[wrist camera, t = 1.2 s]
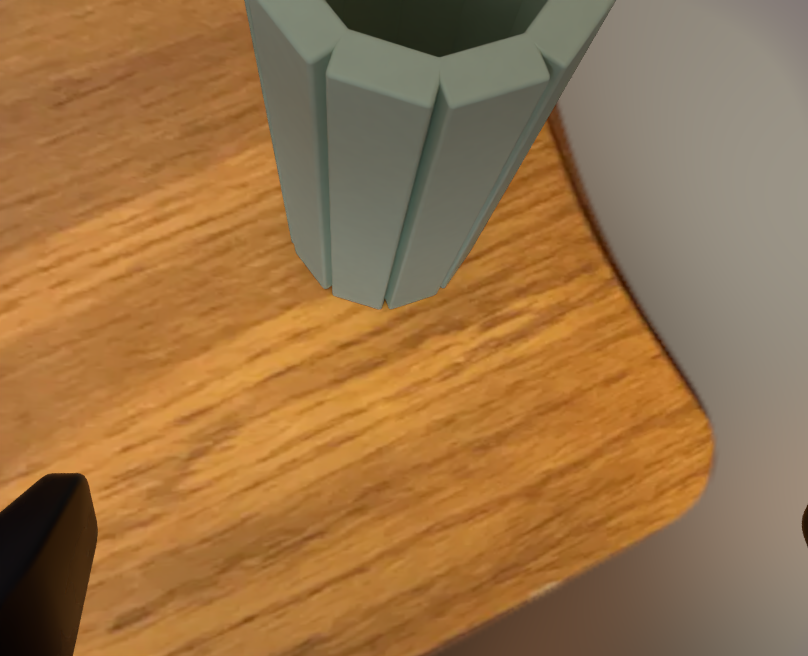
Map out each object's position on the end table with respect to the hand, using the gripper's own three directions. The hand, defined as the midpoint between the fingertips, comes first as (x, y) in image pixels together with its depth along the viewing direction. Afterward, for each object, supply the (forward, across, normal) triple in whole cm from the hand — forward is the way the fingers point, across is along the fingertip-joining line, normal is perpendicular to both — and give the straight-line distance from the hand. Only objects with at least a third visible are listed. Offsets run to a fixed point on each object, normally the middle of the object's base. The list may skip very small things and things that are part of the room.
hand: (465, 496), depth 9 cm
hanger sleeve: (+15, 0, +3) cm, 16 cm away
